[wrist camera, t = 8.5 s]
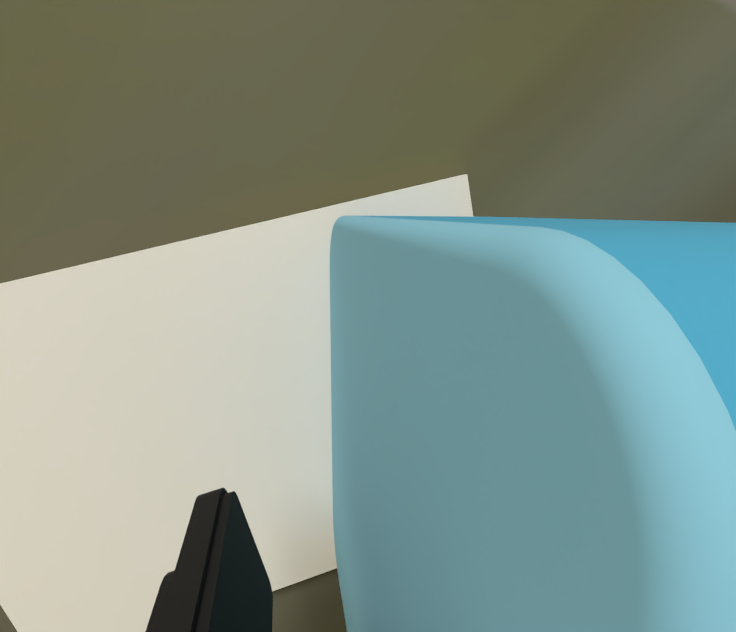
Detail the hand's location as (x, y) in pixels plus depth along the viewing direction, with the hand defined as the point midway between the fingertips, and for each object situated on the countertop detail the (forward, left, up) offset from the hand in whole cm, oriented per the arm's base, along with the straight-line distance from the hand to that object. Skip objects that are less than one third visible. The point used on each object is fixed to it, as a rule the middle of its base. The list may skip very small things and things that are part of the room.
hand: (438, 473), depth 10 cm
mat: (+5, 0, -5) cm, 7 cm away
